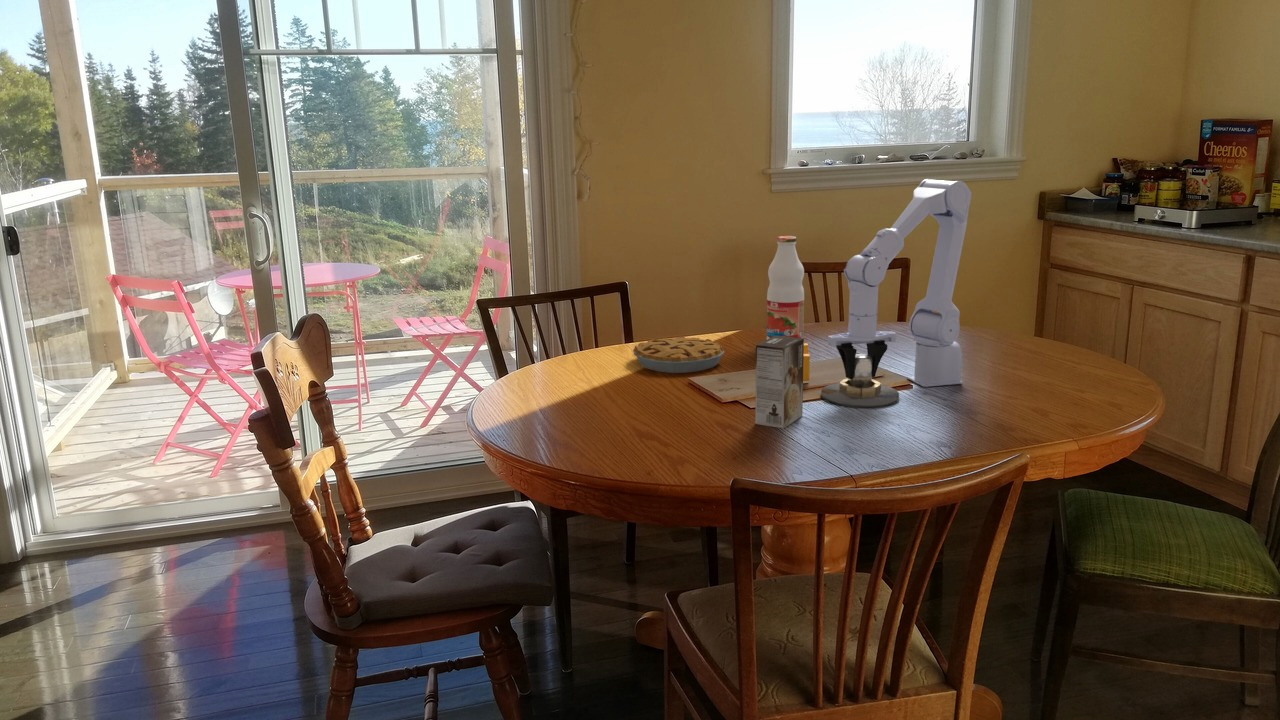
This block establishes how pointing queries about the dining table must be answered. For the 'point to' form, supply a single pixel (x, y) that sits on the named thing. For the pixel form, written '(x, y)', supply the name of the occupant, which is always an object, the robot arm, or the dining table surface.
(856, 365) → the piston
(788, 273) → the fruit juice
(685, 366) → the pie
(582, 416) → the dining table surface
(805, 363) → the pipe clamp
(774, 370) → the coffee box
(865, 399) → the ring collar
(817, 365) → the dining table surface
